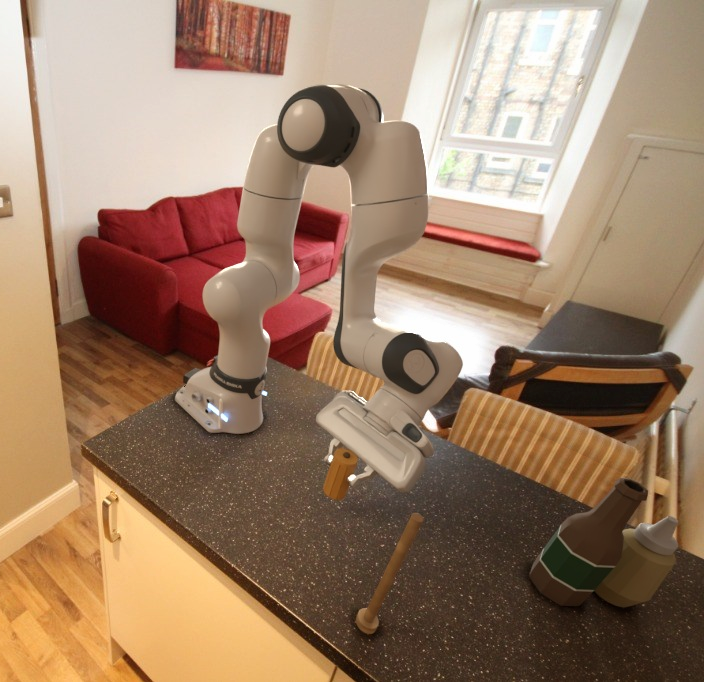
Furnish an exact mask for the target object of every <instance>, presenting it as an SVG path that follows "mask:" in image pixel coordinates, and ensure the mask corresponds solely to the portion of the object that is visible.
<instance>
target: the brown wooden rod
mask: <svg viewBox="0 0 704 682" xmlns="http://www.w3.org/2000/svg"><path fill="white" fill-rule="evenodd" d="M424 519H425V518H424V516H423V515H421V514H420V513H418V512H413V513H411V515H410V517H409V519H408V521H407V523H406V526H405V527H404V530H403V532H402V534H401V536H400V538H399V540H398V542H397V545H396V547H395V549H394V551H393V553H392V555H391V557H390V559H389V561H388V564H387V565H386V568H385V571H384V572H383V574H382V576H381V578H380V580H379V583H378V584H377V587H376V588H375V591H374V593H373V595H372V597H371V600H370V601H369V603H368V605H367V608H365V607H364V608H361V609H359V610H358V612H357V614H356V616H355V624H356V626H357V628H358V629H359V630H360V631H361V632H362V633H364V634H366V635H372V634H375V632H376V631H377V629H378V627H379V624H380V621H379V617H378V612H379V611H380V609H381V606H382V605H383V603H384V601H385V598H386V596H387V595H388V593H389V592H390V588H391V587H392V585H393V583H394V580H395V579H396V576H397V574H398V573H399V571H400V569H401V567H402V565H403V563H404V561H405V558H406V556H407V555H408V552H409V551H410V548H411V547H412V544H413V542H414V541H415V539H416V537H417V535H418V532H419V531H420V529H421V527H422V525H423V523H424V521H425V520H424Z"/></svg>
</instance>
